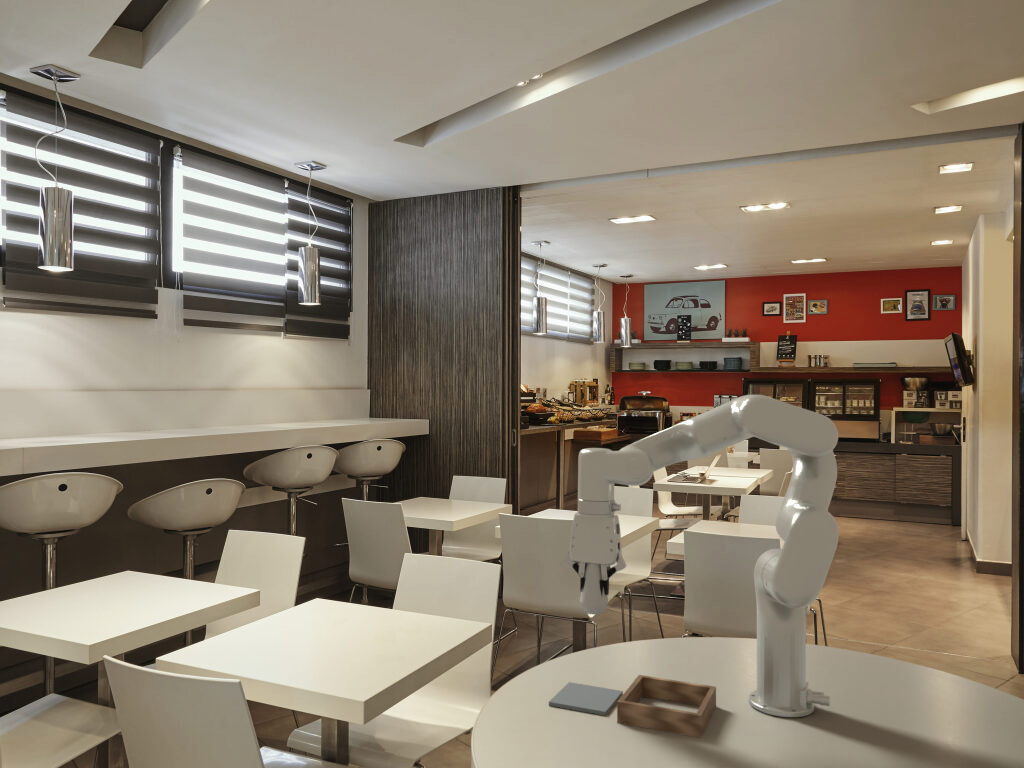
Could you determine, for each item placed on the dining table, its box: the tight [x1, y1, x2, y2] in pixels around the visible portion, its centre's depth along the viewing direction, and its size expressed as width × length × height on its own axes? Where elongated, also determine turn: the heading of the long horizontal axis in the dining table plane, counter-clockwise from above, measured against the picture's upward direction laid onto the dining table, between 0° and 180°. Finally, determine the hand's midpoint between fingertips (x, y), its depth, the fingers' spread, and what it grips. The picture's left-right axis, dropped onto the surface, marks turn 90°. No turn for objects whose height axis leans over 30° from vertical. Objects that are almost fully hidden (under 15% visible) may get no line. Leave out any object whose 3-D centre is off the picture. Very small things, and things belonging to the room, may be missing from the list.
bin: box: [616, 674, 717, 739], centre depth 154 cm, size 16×16×4 cm
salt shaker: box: [579, 563, 609, 616], centre depth 161 cm, size 6×6×13 cm
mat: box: [548, 681, 624, 717], centre depth 161 cm, size 12×12×1 cm
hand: (594, 596), depth 161 cm, fingers closed on salt shaker, 3 cm apart
